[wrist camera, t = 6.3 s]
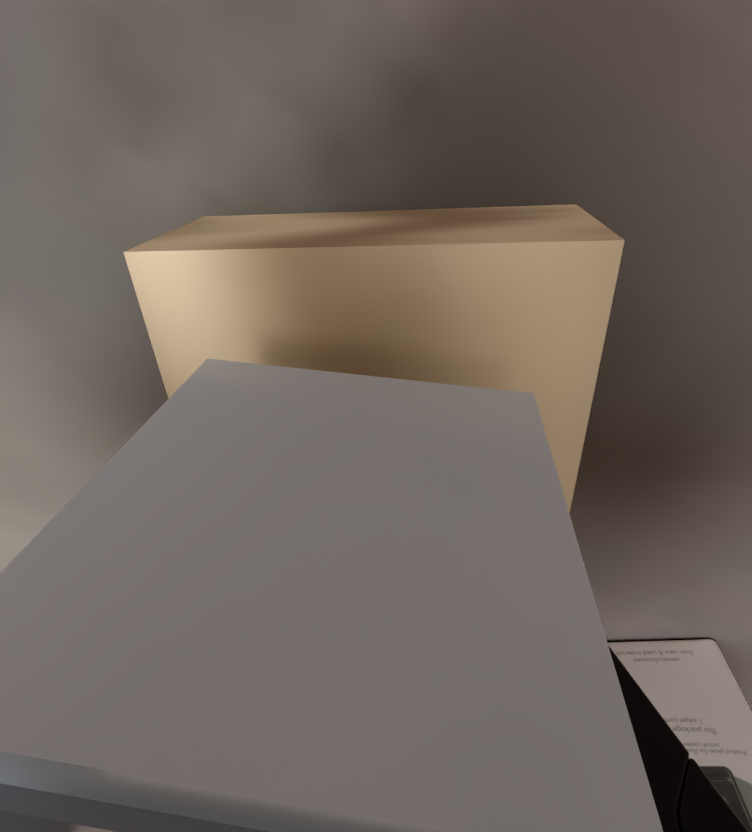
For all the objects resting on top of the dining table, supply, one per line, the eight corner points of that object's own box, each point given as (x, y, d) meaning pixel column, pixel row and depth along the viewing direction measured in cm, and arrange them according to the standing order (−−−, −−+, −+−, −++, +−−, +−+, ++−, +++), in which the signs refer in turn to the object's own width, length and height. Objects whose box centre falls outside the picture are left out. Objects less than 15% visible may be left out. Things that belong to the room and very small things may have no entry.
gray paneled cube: (533, 393, 8) (685, 903, 3) (478, 609, 11) (504, 1055, 6) (207, 358, 9) (-170, 749, 3) (237, 575, 11) (62, 963, 6)
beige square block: (573, 202, 12) (624, 240, 8) (530, 497, 16) (552, 599, 13) (209, 214, 13) (123, 251, 9) (266, 486, 17) (222, 577, 14)
